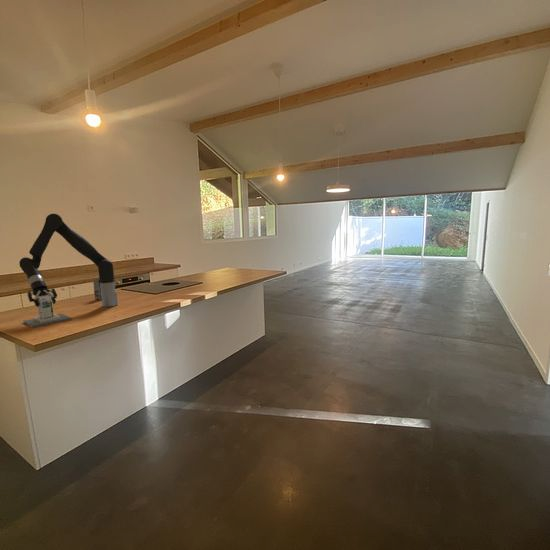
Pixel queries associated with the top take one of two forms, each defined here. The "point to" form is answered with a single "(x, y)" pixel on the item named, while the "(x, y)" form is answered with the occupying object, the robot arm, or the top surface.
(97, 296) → the coffee box
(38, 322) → the base board
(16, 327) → the top surface
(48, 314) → the syrup box
